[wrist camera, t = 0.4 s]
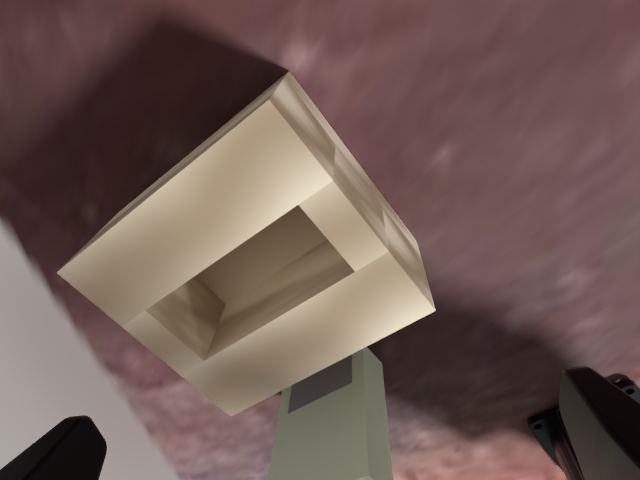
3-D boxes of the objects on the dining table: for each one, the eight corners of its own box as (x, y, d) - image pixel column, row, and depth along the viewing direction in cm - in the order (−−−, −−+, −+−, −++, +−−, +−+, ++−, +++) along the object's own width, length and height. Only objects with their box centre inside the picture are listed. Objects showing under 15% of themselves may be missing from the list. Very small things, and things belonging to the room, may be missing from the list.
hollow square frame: (416, 241, 22) (436, 310, 17) (252, 337, 26) (230, 416, 21) (289, 70, 18) (268, 99, 14) (119, 211, 22) (56, 273, 17)
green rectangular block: (382, 363, 26) (395, 498, 19) (303, 402, 28) (289, 537, 21) (362, 341, 25) (367, 474, 19) (282, 383, 28) (261, 516, 21)
